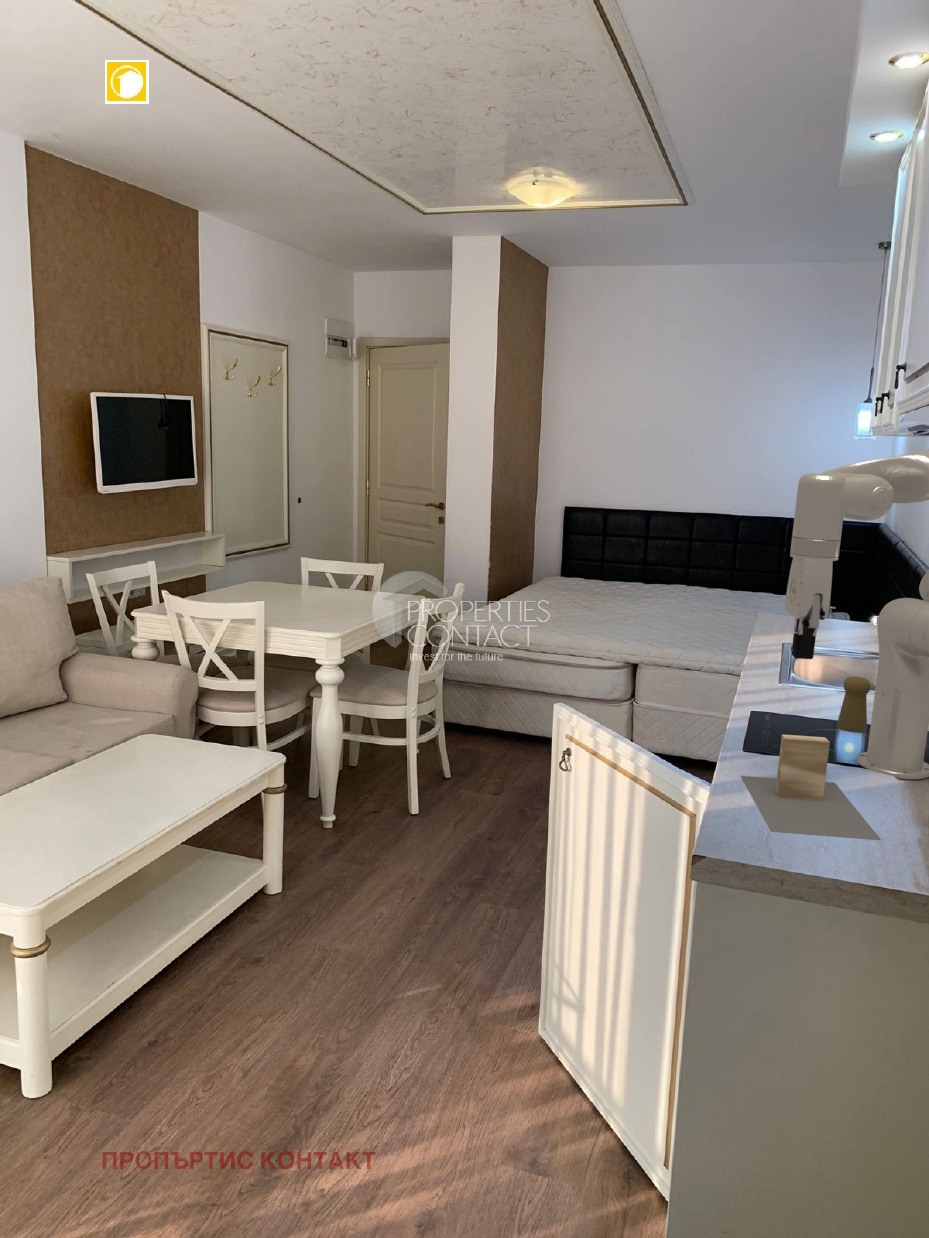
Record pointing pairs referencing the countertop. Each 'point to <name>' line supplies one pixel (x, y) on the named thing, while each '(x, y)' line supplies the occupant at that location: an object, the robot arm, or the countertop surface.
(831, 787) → the mat
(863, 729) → the olive brown pepper mill
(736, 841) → the countertop surface
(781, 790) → the card box
